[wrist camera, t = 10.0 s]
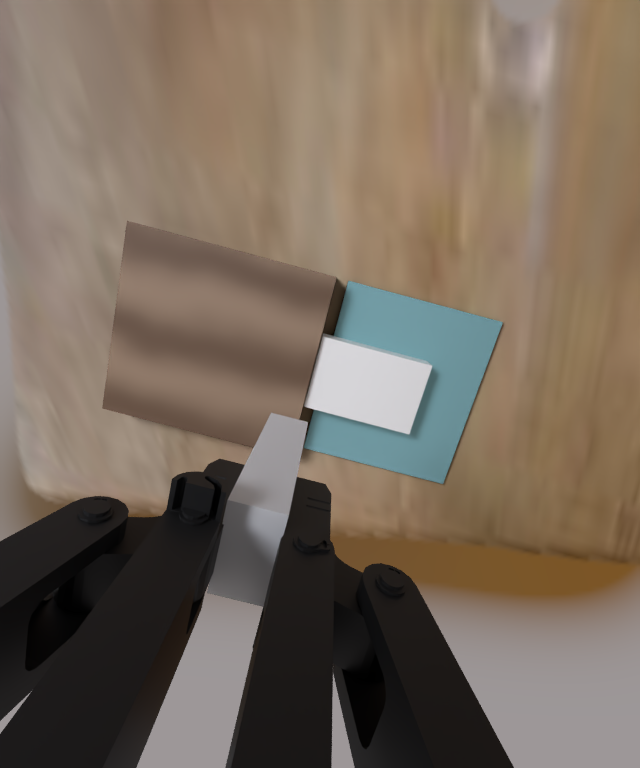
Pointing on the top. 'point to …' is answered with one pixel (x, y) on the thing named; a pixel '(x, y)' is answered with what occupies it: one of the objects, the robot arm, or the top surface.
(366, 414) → the white slab
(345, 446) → the mat
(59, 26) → the top surface
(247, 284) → the brown wooden flat block
